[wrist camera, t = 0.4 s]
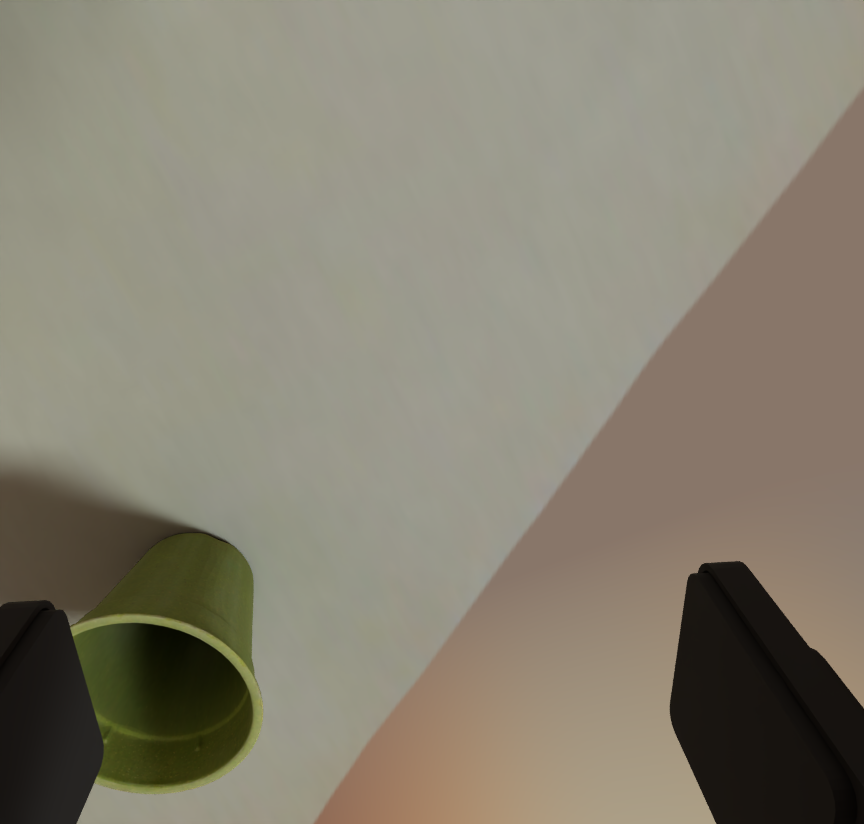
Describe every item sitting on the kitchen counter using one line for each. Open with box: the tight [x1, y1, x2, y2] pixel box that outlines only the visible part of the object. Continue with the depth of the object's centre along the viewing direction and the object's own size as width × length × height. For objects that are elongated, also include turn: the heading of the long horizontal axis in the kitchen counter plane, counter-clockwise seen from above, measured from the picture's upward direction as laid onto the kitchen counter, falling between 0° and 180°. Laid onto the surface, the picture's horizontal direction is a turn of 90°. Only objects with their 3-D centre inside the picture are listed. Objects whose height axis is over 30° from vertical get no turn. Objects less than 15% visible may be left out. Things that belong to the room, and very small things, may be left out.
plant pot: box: [70, 533, 263, 794], centre depth 41 cm, size 12×12×11 cm
